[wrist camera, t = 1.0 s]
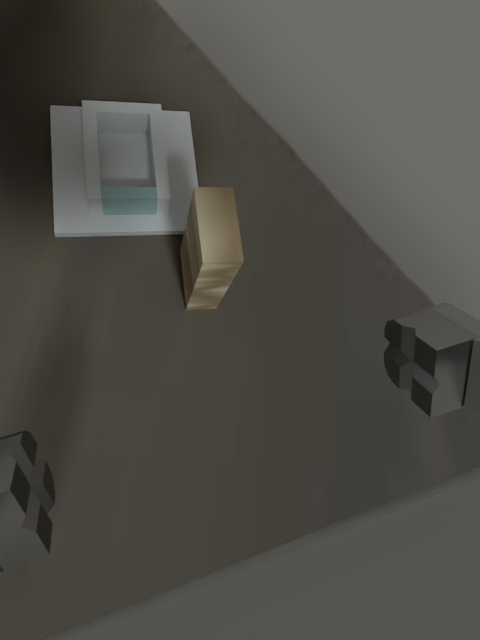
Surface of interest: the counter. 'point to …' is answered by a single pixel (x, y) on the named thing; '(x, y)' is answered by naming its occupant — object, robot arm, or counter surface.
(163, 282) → the counter surface
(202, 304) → the wooden block
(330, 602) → the robot arm
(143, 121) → the white square socket base
